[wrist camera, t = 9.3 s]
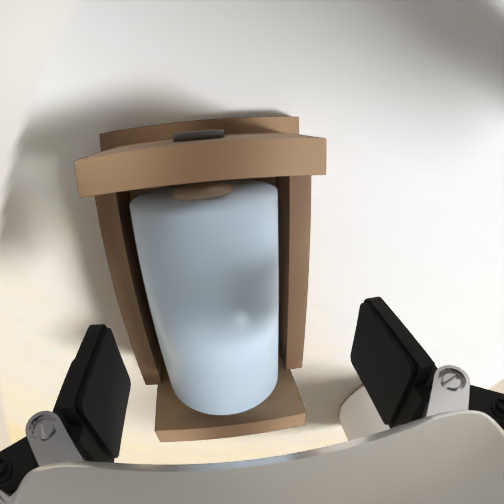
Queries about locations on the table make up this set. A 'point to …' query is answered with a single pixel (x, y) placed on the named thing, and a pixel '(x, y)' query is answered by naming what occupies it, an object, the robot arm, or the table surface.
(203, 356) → the cylinder
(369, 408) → the milk bottle
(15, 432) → the table surface
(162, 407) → the holder
